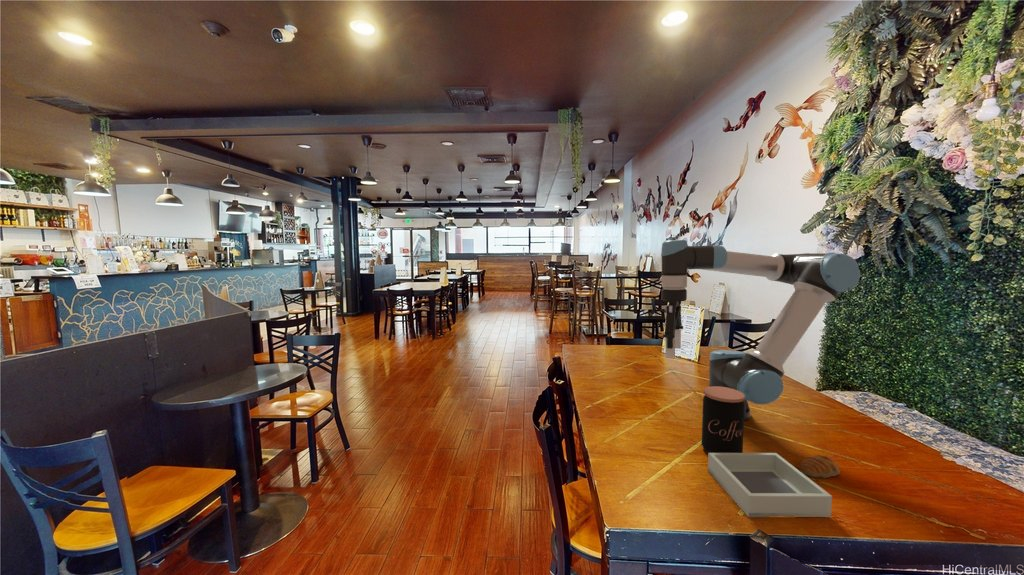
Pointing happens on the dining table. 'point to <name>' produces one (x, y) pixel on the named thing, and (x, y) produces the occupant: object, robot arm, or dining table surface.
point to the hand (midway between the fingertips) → (673, 353)
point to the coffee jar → (723, 420)
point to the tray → (768, 485)
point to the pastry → (819, 467)
